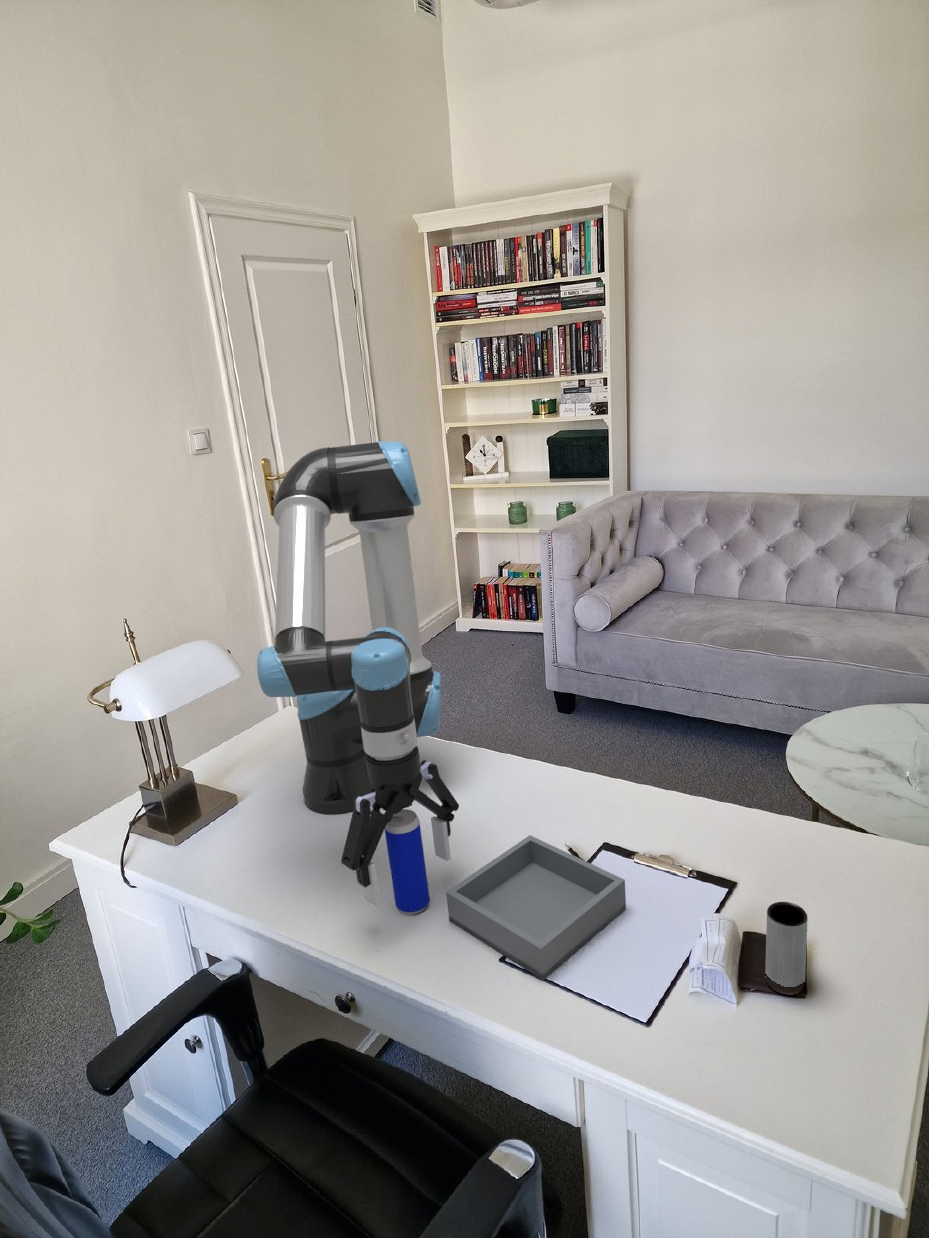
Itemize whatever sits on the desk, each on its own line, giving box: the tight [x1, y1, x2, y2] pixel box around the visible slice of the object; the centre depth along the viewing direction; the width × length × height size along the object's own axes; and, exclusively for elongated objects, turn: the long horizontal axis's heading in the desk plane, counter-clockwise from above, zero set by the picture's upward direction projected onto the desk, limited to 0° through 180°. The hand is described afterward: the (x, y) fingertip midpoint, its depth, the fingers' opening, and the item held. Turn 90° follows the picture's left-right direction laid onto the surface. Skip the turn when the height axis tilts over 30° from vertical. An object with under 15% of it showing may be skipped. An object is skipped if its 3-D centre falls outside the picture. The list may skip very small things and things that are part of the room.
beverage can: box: [384, 808, 430, 915], centre depth 119 cm, size 5×5×15 cm
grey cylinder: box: [765, 901, 809, 987], centre depth 98 cm, size 4×4×10 cm
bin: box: [445, 835, 627, 981], centre depth 115 cm, size 18×18×5 cm
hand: (409, 878), depth 119 cm, fingers open, 13 cm apart
